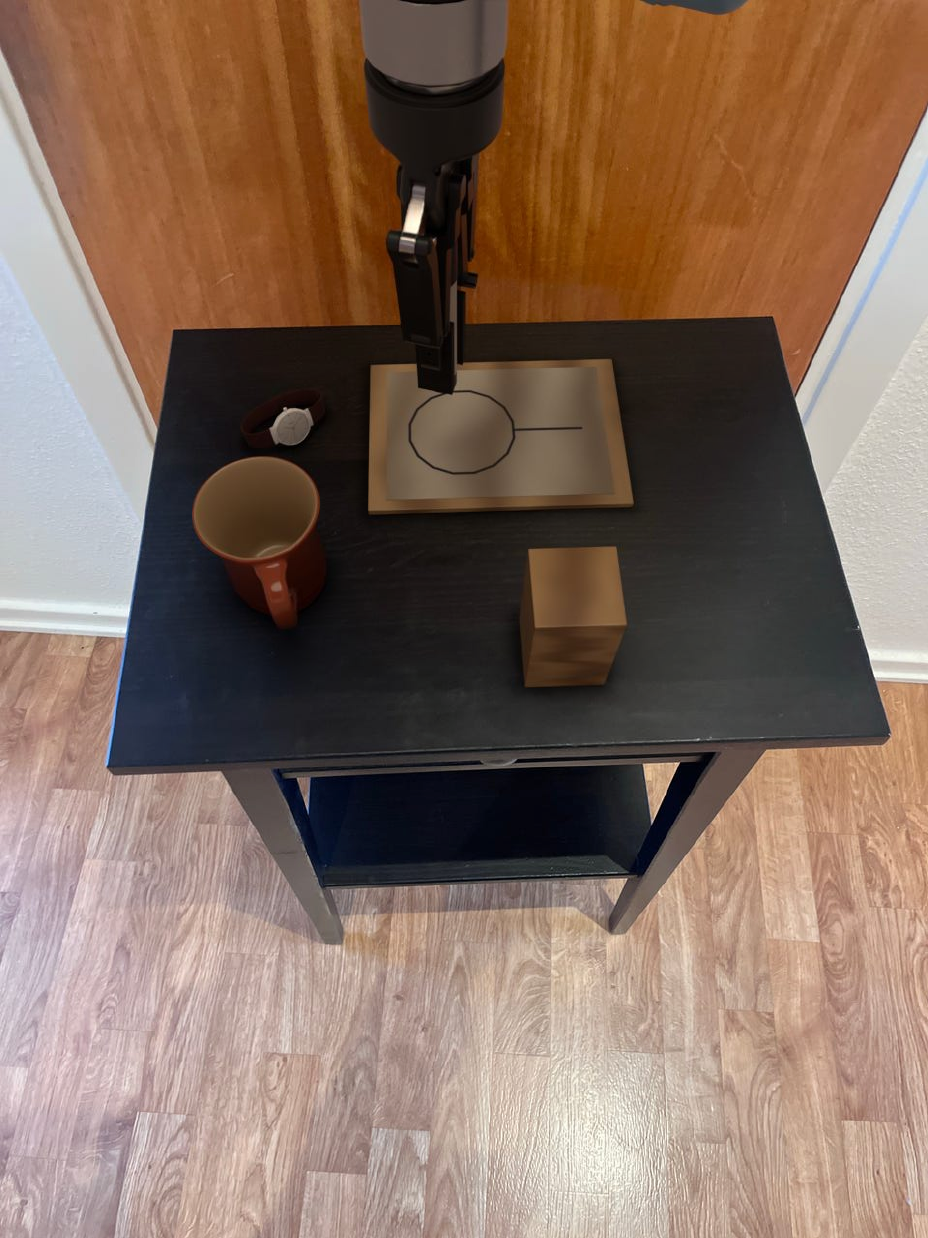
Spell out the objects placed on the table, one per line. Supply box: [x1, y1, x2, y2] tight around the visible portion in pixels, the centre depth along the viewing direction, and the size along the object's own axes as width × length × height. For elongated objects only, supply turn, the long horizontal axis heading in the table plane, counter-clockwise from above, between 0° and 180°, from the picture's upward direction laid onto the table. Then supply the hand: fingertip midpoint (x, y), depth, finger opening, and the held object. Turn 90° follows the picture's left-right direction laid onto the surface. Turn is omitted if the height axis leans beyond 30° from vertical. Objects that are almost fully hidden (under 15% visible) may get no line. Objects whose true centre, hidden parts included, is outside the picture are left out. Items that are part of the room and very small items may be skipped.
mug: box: [191, 455, 327, 630], centre depth 63 cm, size 12×9×10 cm
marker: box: [434, 241, 458, 393], centre depth 61 cm, size 2×2×13 cm
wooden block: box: [518, 546, 628, 688], centre depth 61 cm, size 6×6×10 cm
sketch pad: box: [367, 358, 634, 516], centre depth 75 cm, size 22×16×1 cm
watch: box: [239, 387, 326, 449], centre depth 74 cm, size 8×5×4 cm, turn 126°
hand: (441, 372), depth 66 cm, fingers closed on marker, 2 cm apart
